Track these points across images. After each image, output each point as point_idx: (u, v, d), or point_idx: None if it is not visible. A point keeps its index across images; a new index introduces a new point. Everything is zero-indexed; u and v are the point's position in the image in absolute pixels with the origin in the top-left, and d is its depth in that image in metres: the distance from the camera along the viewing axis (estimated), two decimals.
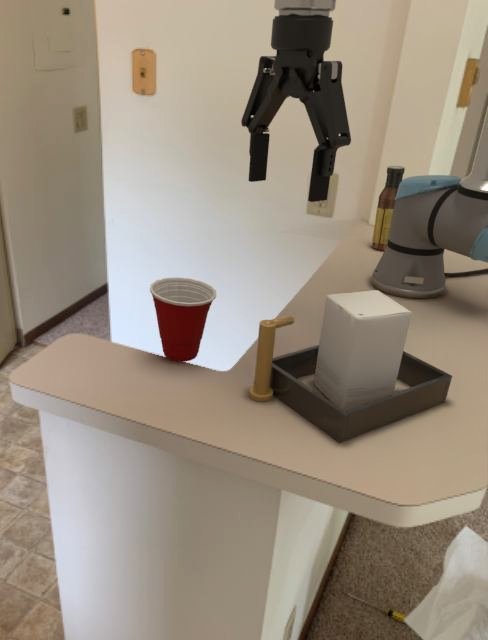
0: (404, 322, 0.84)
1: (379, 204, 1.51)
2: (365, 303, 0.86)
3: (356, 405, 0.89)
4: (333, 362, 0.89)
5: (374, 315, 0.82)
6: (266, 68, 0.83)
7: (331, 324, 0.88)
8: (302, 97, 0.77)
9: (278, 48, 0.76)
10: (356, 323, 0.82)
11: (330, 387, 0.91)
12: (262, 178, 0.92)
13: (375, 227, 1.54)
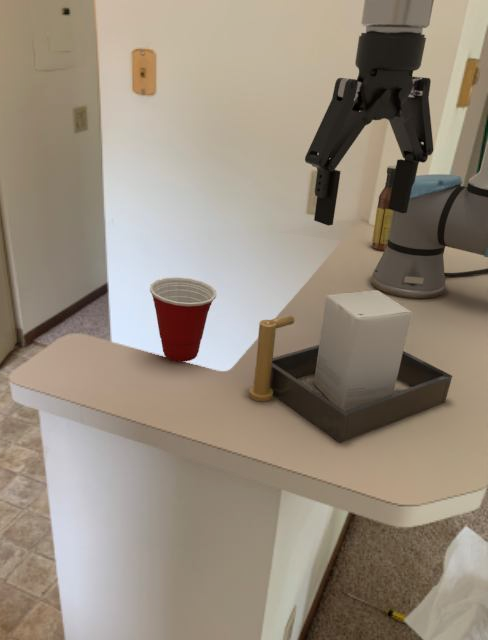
0: (404, 322, 0.84)
1: (379, 204, 1.51)
2: (365, 303, 0.86)
3: (356, 405, 0.89)
4: (333, 362, 0.89)
5: (374, 315, 0.82)
6: None
7: (331, 324, 0.88)
8: None
9: None
10: (356, 322, 0.82)
11: (330, 387, 0.91)
12: (399, 210, 0.84)
13: (375, 227, 1.54)
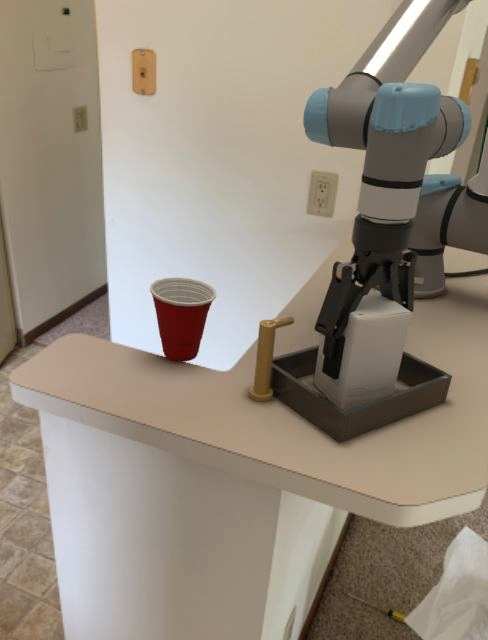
0: (404, 322, 0.84)
1: None
2: (365, 303, 0.86)
3: (356, 405, 0.89)
4: None
5: (374, 315, 0.82)
6: None
7: None
8: None
9: None
10: (356, 322, 0.82)
11: (330, 387, 0.91)
12: None
13: None
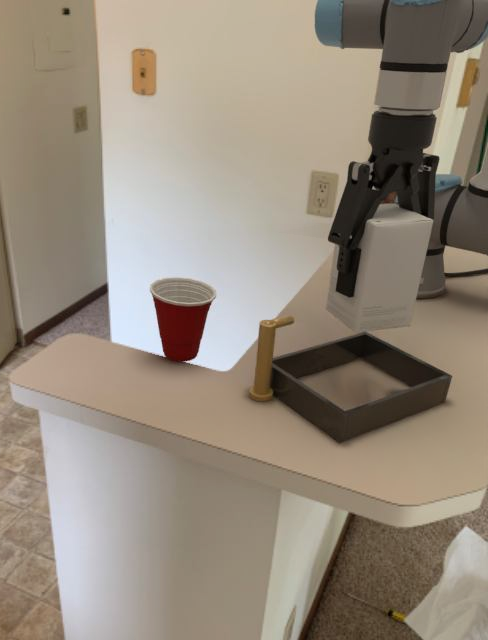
0: (425, 232, 0.78)
1: None
2: (382, 212, 0.79)
3: (372, 326, 0.83)
4: None
5: (393, 222, 0.76)
6: None
7: None
8: None
9: None
10: (373, 230, 0.75)
11: (344, 308, 0.84)
12: None
13: None
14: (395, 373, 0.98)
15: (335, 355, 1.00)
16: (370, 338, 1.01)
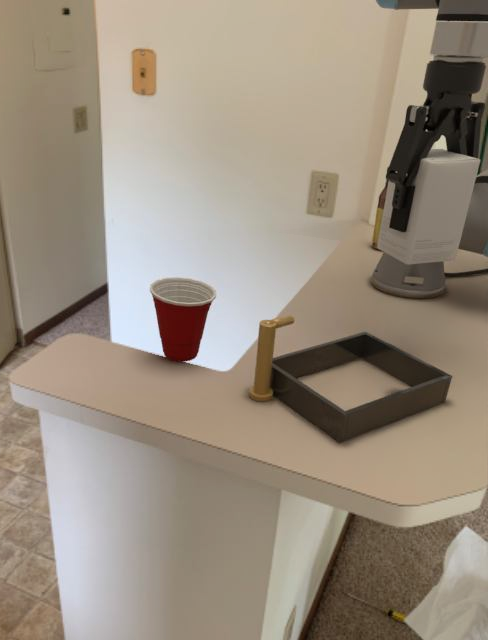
0: (473, 170, 0.87)
1: (379, 204, 1.51)
2: (433, 154, 0.88)
3: (423, 259, 0.92)
4: None
5: (445, 160, 0.85)
6: None
7: None
8: None
9: None
10: (427, 167, 0.84)
11: (396, 243, 0.93)
12: None
13: (375, 227, 1.54)
14: (395, 373, 0.98)
15: (335, 355, 1.00)
16: (370, 338, 1.01)
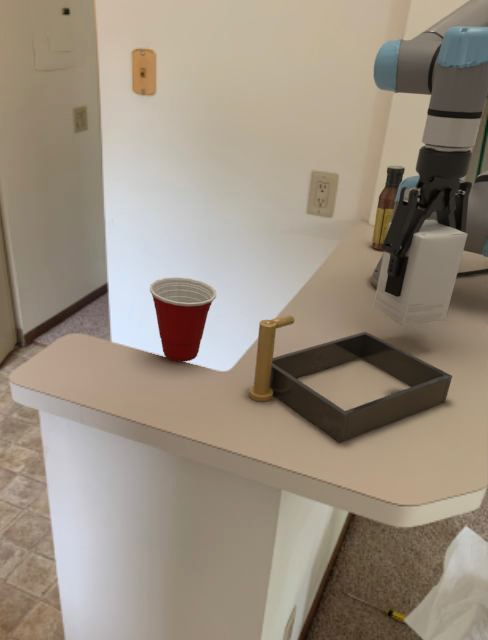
0: (460, 243, 0.96)
1: (379, 204, 1.51)
2: (425, 227, 0.97)
3: (415, 320, 1.01)
4: None
5: (435, 235, 0.94)
6: None
7: None
8: None
9: None
10: (419, 241, 0.93)
11: (391, 305, 1.02)
12: None
13: (375, 227, 1.54)
14: (395, 373, 0.98)
15: (335, 355, 1.00)
16: (370, 338, 1.01)
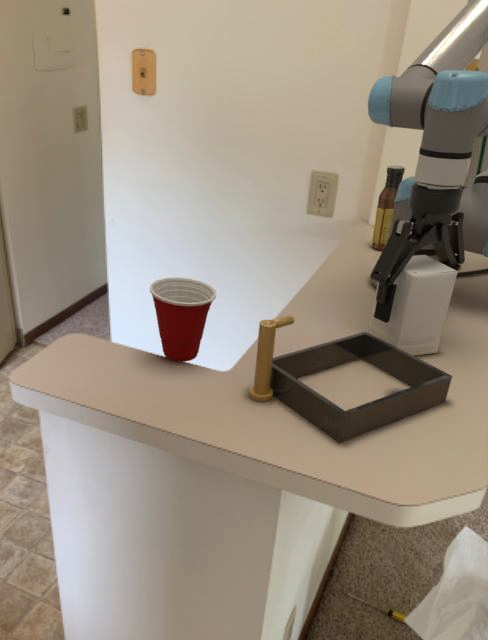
0: (451, 280, 0.99)
1: (379, 204, 1.51)
2: (417, 264, 1.00)
3: None
4: None
5: (426, 273, 0.97)
6: None
7: None
8: None
9: None
10: (411, 279, 0.97)
11: (384, 338, 1.05)
12: None
13: (375, 227, 1.54)
14: (395, 373, 0.98)
15: (335, 355, 1.00)
16: (370, 338, 1.01)
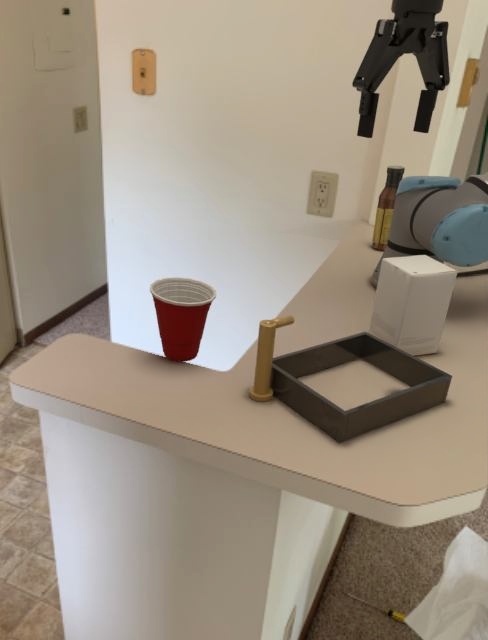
0: (451, 280, 0.99)
1: (379, 204, 1.51)
2: (417, 264, 1.00)
3: None
4: (388, 316, 1.03)
5: (426, 273, 0.97)
6: None
7: (387, 283, 1.03)
8: None
9: None
10: (411, 279, 0.97)
11: (384, 338, 1.05)
12: (422, 131, 1.06)
13: (375, 227, 1.54)
14: (395, 373, 0.98)
15: (335, 355, 1.00)
16: (370, 338, 1.01)
